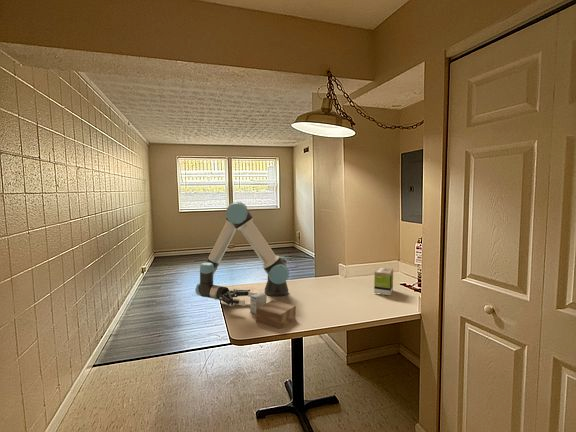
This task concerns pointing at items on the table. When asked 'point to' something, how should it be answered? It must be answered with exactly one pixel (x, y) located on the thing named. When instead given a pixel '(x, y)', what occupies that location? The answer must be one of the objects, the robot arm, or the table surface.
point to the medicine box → (257, 301)
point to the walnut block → (275, 314)
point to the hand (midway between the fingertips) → (251, 299)
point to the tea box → (383, 281)
